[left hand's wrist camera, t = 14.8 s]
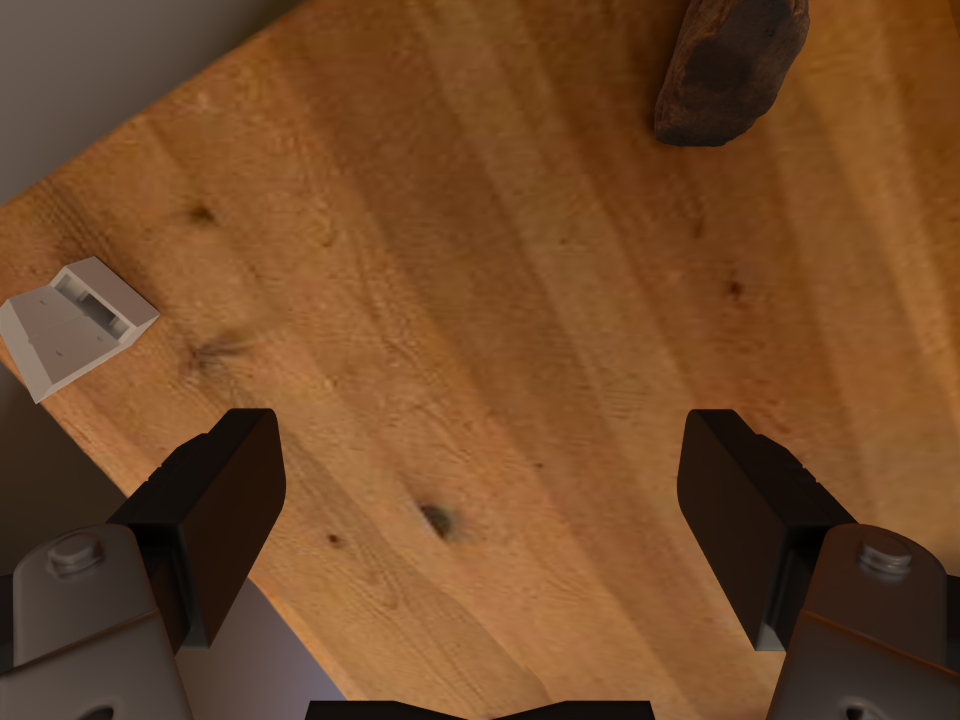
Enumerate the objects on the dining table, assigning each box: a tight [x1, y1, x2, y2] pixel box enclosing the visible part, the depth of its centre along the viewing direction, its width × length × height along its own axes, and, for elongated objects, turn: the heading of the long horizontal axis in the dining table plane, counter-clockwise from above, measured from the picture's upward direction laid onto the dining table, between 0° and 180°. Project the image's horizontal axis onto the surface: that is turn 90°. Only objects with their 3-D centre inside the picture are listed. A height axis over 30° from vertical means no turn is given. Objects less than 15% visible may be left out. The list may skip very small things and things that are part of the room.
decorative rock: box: [654, 0, 810, 147], centre depth 31 cm, size 12×6×11 cm, turn 170°
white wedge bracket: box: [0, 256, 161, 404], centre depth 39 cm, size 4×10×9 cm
